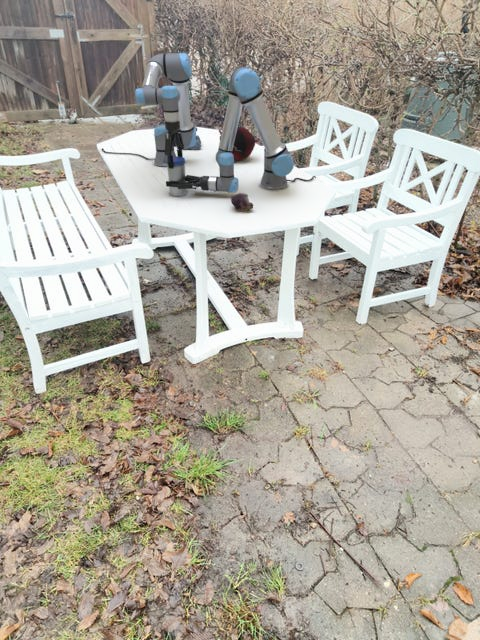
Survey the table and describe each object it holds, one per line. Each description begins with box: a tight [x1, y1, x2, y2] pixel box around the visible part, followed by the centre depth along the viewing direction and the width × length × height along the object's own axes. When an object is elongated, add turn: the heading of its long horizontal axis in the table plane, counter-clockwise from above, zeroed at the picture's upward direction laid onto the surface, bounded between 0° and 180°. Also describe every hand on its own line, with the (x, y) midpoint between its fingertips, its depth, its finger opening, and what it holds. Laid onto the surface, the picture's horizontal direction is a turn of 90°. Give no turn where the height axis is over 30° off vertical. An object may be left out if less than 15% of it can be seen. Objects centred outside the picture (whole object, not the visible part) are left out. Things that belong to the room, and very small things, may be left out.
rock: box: [230, 192, 254, 211], centre depth 223 cm, size 12×9×10 cm
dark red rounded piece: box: [218, 126, 257, 162], centre depth 296 cm, size 21×24×25 cm
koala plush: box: [184, 120, 202, 151], centre depth 323 cm, size 17×18×20 cm
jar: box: [166, 163, 188, 197], centre depth 241 cm, size 9×9×18 cm
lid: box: [166, 156, 186, 166], centre depth 236 cm, size 10×10×2 cm
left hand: (175, 165), depth 238 cm, fingers open, 11 cm apart
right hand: (169, 180), depth 243 cm, fingers closed on jar, 9 cm apart
